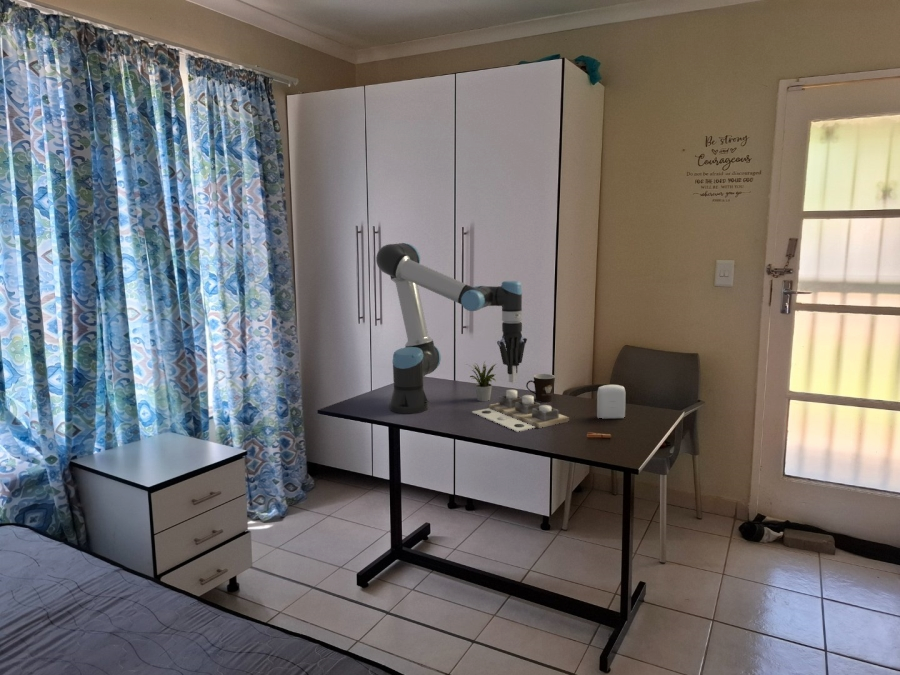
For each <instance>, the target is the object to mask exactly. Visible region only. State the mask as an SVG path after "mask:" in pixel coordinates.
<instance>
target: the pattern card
mask: <svg viewBox="0 0 900 675" xmlns="http://www.w3.org/2000/svg"><path fill="white" fill-rule="evenodd" d="M471 414H474V415H476V414H477V415H476V416H478V415H479V416H478V417H480V418H483V419H485V418H486V419H485V420H487V421H490V422H492V421H493V422H492V423H495V424H497V423H498V425H499V424H500V425H499V426H502V427H504V426H505V427H504V428H506V427H507V429H509V430H511V429H512V430H511V431H513V430H514V432H516V433H519V431H520V432H524V431H529V430H532V428H533V429H535V428H536V427H535V426H532V425H530V424H527V423H525V422H522V421H520V420H517V419H515V418H512V417H510V416H507V415H505V414H502V413H500V412H497V411H495V410H492V409H490V407H488V408H487V407H486V408H483V409H477V410H472V411H471ZM528 429H529V430H528Z"/></svg>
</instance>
